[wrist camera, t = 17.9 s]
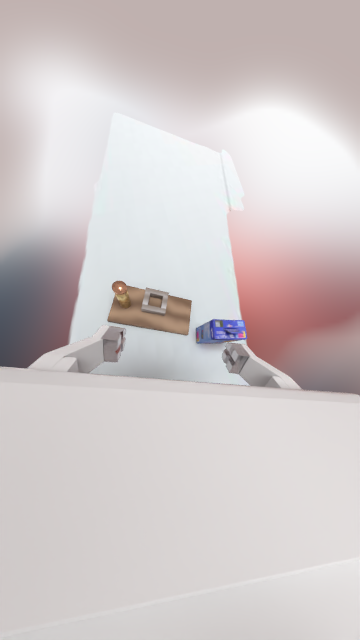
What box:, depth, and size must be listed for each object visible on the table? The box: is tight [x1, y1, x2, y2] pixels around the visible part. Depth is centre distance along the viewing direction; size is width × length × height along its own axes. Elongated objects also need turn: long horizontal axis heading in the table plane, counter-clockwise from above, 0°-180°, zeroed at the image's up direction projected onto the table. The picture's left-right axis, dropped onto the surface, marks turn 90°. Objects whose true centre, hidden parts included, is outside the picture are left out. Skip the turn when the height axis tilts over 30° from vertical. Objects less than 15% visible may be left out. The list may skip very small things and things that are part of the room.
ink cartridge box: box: [196, 319, 247, 343], centre depth 38 cm, size 10×6×14 cm, turn 92°
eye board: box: [108, 286, 192, 335], centre depth 41 cm, size 12×24×4 cm, turn 83°
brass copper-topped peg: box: [112, 281, 131, 308], centre depth 35 cm, size 3×3×10 cm
